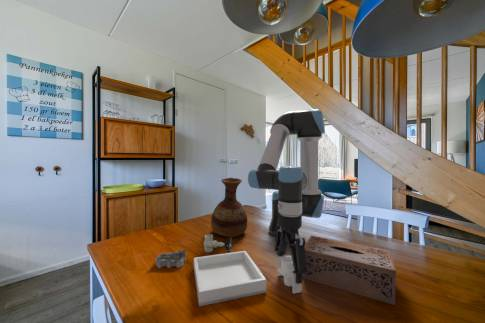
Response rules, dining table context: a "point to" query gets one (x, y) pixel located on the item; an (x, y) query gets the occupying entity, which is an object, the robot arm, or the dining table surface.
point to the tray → (227, 277)
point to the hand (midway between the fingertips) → (288, 282)
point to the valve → (216, 244)
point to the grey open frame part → (165, 259)
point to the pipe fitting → (287, 269)
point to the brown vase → (229, 212)
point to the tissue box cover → (351, 268)
